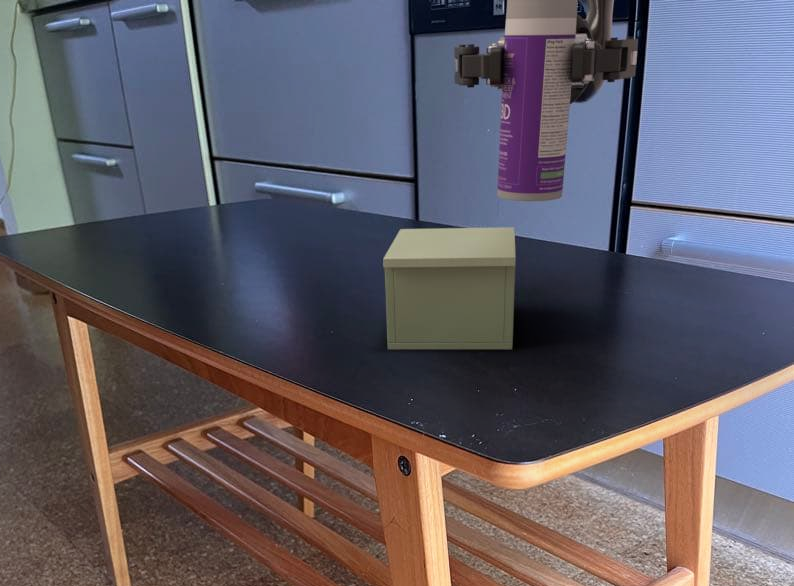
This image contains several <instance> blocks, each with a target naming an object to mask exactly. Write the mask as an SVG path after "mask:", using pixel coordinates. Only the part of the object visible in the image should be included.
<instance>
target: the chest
mask: <svg viewBox="0 0 794 586" xmlns="http://www.w3.org/2000/svg"><path fill="white" fill-rule="evenodd" d="M515 282H516V265H515V266H492V267H406V268H384V285H385V287H384V288H385V311H386V312H385V313H386V339H387V350H513V342H514V318H515V317H514V316H515V315H514V314H515V284H516V283H515Z"/></svg>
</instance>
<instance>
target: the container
mask: <svg viewBox="0 0 794 586" xmlns="http://www.w3.org/2000/svg"><path fill="white" fill-rule="evenodd" d="M578 3H579V0H506V13H505V26H504V28H505V29H504V35H505V41H504V62H503V84H502V91H501V106H500V107H501V108H500V126H499V129H500V130H499V147H498V148H499V150H498V169H497V174H498V175H497V192H496V193H497V194H496V195H497V197H498V198H500V199H503V200H508V201H514V202H515V201H516V202H546V201H555V200H558V199H561V198H562V196H563V188H564V179H565V178H564V177H565V176H564V175H565V166H566V156H567V155H566V154H567V142H568V141H567V140H568V131H569V121H570V120H569V118H570V108H571V104H570V96H571V84H572V62H573V45H574V44H575V37H576V35H575V34H576V20H577V14H578Z"/></svg>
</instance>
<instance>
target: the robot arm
mask: <svg viewBox="0 0 794 586" xmlns="http://www.w3.org/2000/svg"><path fill="white" fill-rule="evenodd" d="M578 2H580V4H581V6H582V7H583V10H584V12H585V19H584V18H583V17H581V15H579V14H578V13H577V20H576V34H575V35H576V37H575V44H574V45H573V62H572V84H571V96H570V105H572V104H584V103H587V102H589V101H590V100H591V99H593V98H594V97H595V96H596V95H597V94H598V93H599V92H600V91H601V89H602V88H603V87H604V84H605V83H615V82H616V81H617V80H630V79H631V78H633V77H636V69H637V59H638V47H639V38H634V36H626V37H625V38H626V39H625V38H624V39H619V37H612V34H613V33H612V31H613V12H614V5H615V4H614V3H615V0H578ZM504 41H505V34H504V36H501V37H499V38H498V41H497V42H493V43H492V42H491V45H487V46H486V53H482V54H480V46H477V45H476V46H475V43H470V44H469V43H468V44H459V45H458V46H455V47H454V49H453V50H454V51H453V52H454V61H453V62H454V84H456V85H459V86H466V88H467V89H469V88H475V86H480V79H481V80H485V85H486V86H490V88H497V90H498V91H499V92H500V91H501V92H502V84H503V62H504Z"/></svg>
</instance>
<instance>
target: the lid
mask: <svg viewBox="0 0 794 586" xmlns="http://www.w3.org/2000/svg"><path fill="white" fill-rule="evenodd" d="M515 231H516V230H515V227H514V226H509V227H508V226H506V227H505V226H504V227H503V226H502V227H500V226H499V227H448V228H447V227H445V228H443V227H442V228H440V227H439V228H400V229H399V231H398V232H397V234H396V236H395V238H394V239H393V241H392V242H391V245H390V246H389V248H388V250H387V252H386V253H385V255H384V256H383V260H382V266H383V268H384V269H385V268H406V267H492V266H515V267H516V262H517V261H516V260H517V258H516V257H517V255H516V234H515Z"/></svg>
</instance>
